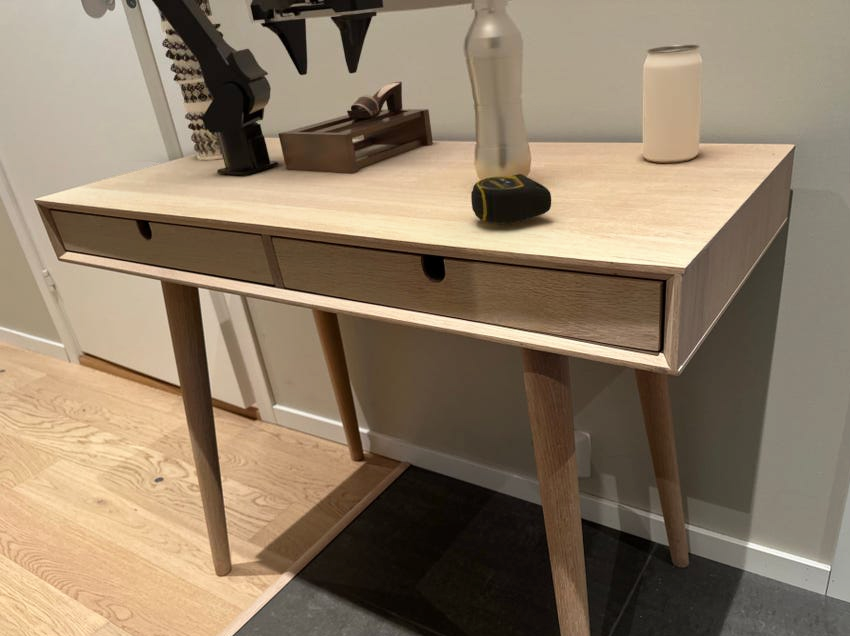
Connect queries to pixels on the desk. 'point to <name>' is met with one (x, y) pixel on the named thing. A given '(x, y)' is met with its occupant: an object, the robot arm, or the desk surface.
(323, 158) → the shoe rack
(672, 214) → the desk surface
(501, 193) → the tape measure
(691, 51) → the can
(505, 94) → the plastic bottle
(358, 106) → the heeled mule
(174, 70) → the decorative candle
